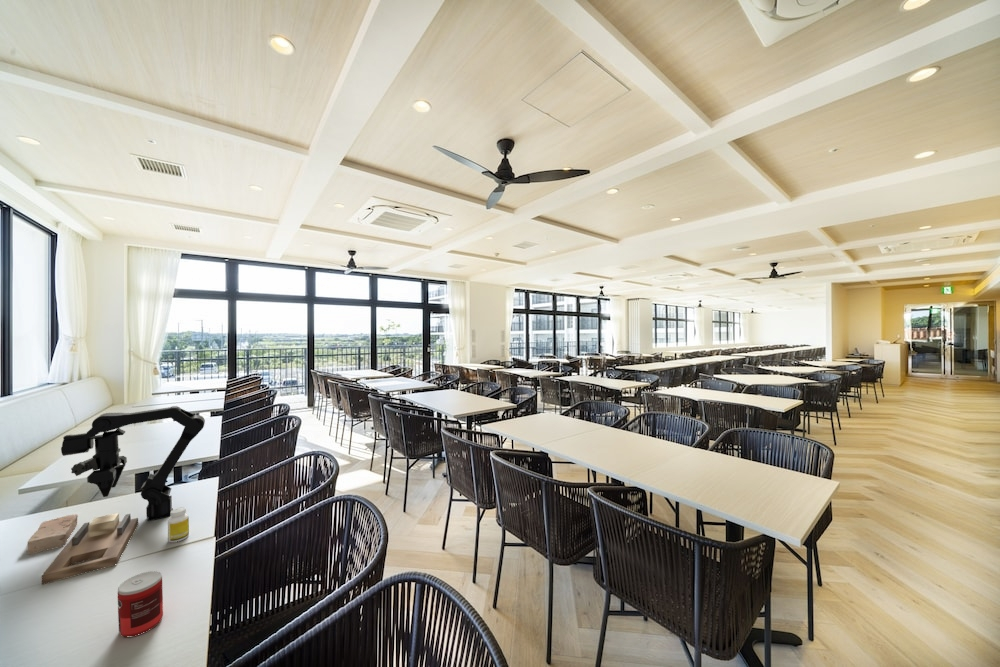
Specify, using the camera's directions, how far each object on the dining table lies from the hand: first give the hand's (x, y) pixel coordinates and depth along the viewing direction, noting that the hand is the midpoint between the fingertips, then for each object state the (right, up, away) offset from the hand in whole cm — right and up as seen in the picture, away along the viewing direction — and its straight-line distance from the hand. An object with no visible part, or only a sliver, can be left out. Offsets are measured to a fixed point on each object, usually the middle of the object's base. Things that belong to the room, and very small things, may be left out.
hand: (109, 491), depth 134 cm
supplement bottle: (+31, -13, -7) cm, 34 cm away
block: (+5, -11, -7) cm, 13 cm away
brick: (-11, -14, -7) cm, 19 cm away
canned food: (+54, -14, -44) cm, 71 cm away
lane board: (+10, -13, -14) cm, 22 cm away
